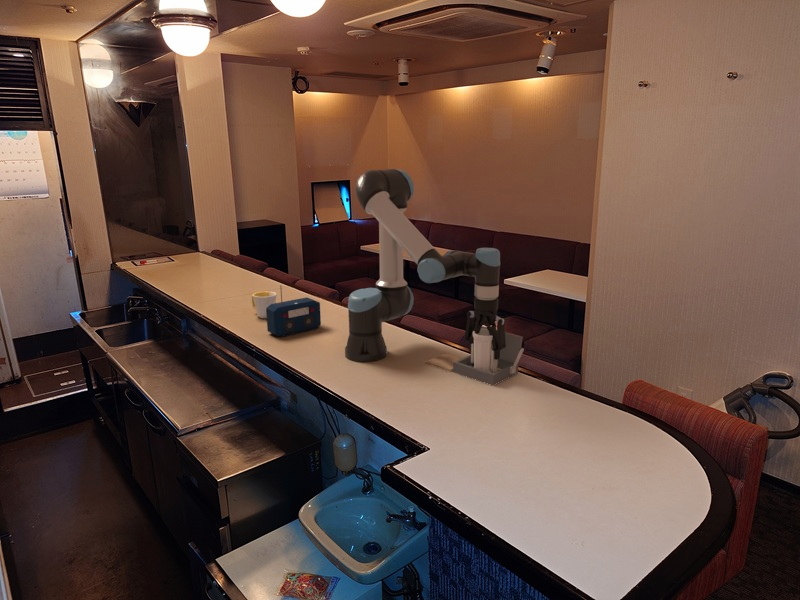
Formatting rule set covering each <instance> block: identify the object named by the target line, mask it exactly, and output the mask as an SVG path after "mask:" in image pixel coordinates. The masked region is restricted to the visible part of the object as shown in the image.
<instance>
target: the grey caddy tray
mask: <svg viewBox="0 0 800 600" xmlns="http://www.w3.org/2000/svg"><path fill="white" fill-rule="evenodd" d="M481 329H487V327H486V326H484V325H482V327H481ZM523 337H524V336H520V335H517V334H513V333H509V332H506V331H505V341H506V348H504V349H501V350H500V358H499V359H498V362H497V367H496V368H495V369H498V368H499V369H498V370H497V371H495V372H493V374H492V373H489V372H486V371H483V370H480V369H477V368H474V365H473V364H474V363H471V354H470V355H467V356H465V357H462V359H460V360H457V361H455V362H453V370H452V372H453V373H455V374H458V375H461V376H463V375H464V376H463V377H466V376H467V377H466V378H469V379H472V378H473V379H472V380H475V379H476V380H475V381H477V382H478V381H479V382H480V381H481V383H483V382H485V383H484V384H486V383H488V384H487V385H489V384H491V385H490V386H492V385H494V386H495V384H496V383H498V382H500V381H502V380H504V379H506V378H507V379H509V378H511V377H513V376H515V375H517V374H518V373H519V361H520V359H521V357H522V355H523V352H524V351H525V348H523V347H522V344H523ZM471 365H472V366H471ZM508 377H509V378H508ZM507 379H506V380H507ZM504 381H505V380H504ZM502 382H503V381H502ZM500 383H501V382H500ZM498 384H499V383H498ZM496 385H497V384H496Z"/></svg>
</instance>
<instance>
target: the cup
mask: <svg viewBox="0 0 800 600" xmlns="http://www.w3.org/2000/svg"><path fill="white" fill-rule="evenodd" d="M473 338H474V365H473V367H474V368H477V369H480V370H483V371H486V372H489V373H492V374H493V373H494V369H490V368H491V350H492V349H493V345H492V338H493V336H492V335H491V336H490V334H489V330H487V329H481V330H480V332H479V333H478V334H475V331H473Z"/></svg>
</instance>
